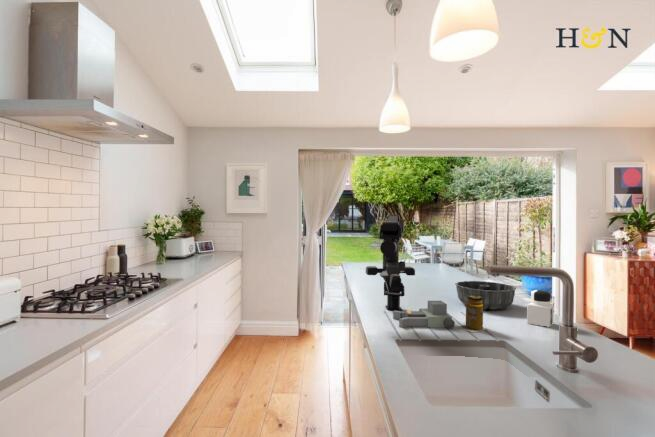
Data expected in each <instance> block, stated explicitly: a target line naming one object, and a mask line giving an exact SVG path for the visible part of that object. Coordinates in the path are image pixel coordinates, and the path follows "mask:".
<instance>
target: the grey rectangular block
mask: <svg viewBox="0 0 655 437" xmlns="http://www.w3.org/2000/svg"><path fill="white" fill-rule="evenodd" d="M404 312H405V316H404V317H405V318H406V317H425V314H424V313H423V312H422V311H419V310H415V311H413V310H411V311H410V310H405V311H404Z"/></svg>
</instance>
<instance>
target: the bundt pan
mask: <svg viewBox="0 0 655 437" xmlns="http://www.w3.org/2000/svg"><path fill="white" fill-rule="evenodd" d="M454 285H455V287H456V292H457V293H456V294H457V297H458V300H459V301H460V302H461V303H462V304H464V305H465V306H466V303H467V296H470V295H475V296H480V297H482V304H483V311H484V310H487V309H489V310H491V311H492V310H493V311H494V310H497V311H501V310H503V309H507V308H509V307H510V306H511V305H512V304H513V303H514V299H515V294H516V293H515V292H516V290H517V287H514V285H511V284H506V283H501V282H493V281H481V280H463V281H456V283H454Z"/></svg>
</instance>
